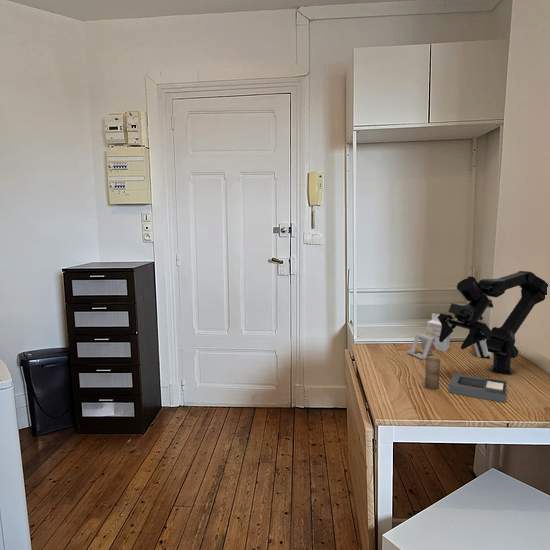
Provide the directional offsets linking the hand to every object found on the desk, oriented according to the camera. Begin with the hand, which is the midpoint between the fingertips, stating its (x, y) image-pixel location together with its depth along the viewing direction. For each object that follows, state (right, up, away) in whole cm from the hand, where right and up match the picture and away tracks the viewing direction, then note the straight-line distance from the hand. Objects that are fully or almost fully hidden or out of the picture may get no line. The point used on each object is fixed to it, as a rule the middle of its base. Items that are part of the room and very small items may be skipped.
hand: (450, 345), depth 141 cm
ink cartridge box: (+11, -8, +39) cm, 42 cm away
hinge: (+27, -9, +33) cm, 44 cm away
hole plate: (+7, -14, -5) cm, 16 cm away
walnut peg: (-7, -14, -1) cm, 15 cm away
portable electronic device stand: (+1, -10, +30) cm, 32 cm away
